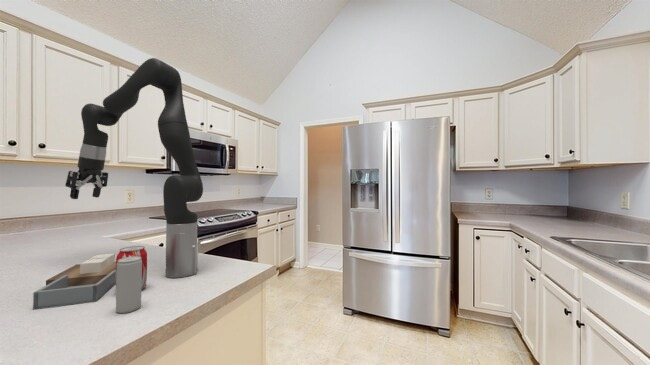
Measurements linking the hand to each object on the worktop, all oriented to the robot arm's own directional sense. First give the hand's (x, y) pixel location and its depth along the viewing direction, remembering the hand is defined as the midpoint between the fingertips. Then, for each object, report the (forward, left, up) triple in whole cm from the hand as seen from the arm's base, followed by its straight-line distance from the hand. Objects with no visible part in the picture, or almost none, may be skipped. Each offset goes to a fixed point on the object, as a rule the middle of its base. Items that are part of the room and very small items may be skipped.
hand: (85, 197), depth 100 cm
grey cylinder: (-29, +52, -25) cm, 65 cm away
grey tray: (-14, +38, -25) cm, 47 cm away
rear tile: (-13, +19, -22) cm, 32 cm away
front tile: (-13, +25, -22) cm, 36 cm away
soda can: (-26, +39, -25) cm, 53 cm away
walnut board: (-12, +23, -25) cm, 36 cm away
